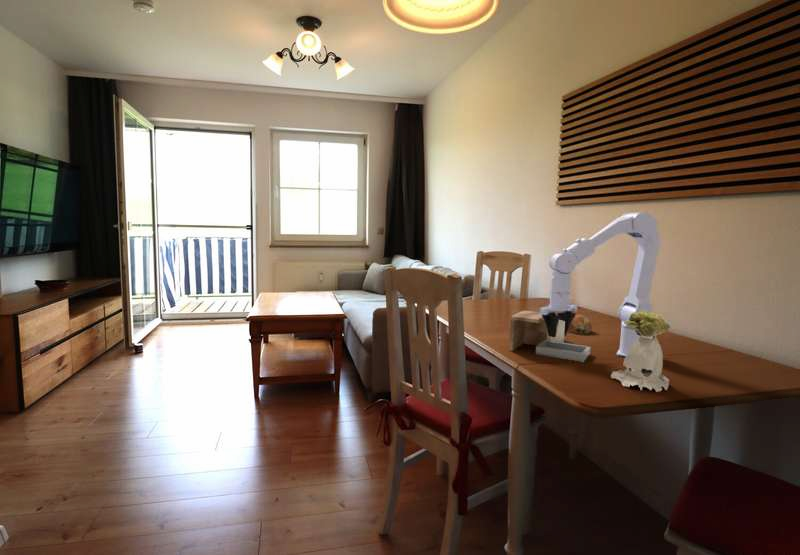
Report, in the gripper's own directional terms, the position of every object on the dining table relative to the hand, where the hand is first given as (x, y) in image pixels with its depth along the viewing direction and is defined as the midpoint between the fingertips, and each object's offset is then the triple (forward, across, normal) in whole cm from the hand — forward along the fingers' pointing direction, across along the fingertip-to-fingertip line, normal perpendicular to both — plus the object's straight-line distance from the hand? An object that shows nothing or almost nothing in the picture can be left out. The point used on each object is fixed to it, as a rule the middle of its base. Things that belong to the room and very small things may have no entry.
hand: (557, 335), depth 139 cm
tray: (+6, +1, -2) cm, 6 cm away
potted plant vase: (+6, -2, -28) cm, 29 cm away
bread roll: (+6, +33, +18) cm, 38 cm away
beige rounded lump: (+2, 0, 0) cm, 2 cm away
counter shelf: (+6, -4, +8) cm, 10 cm away
